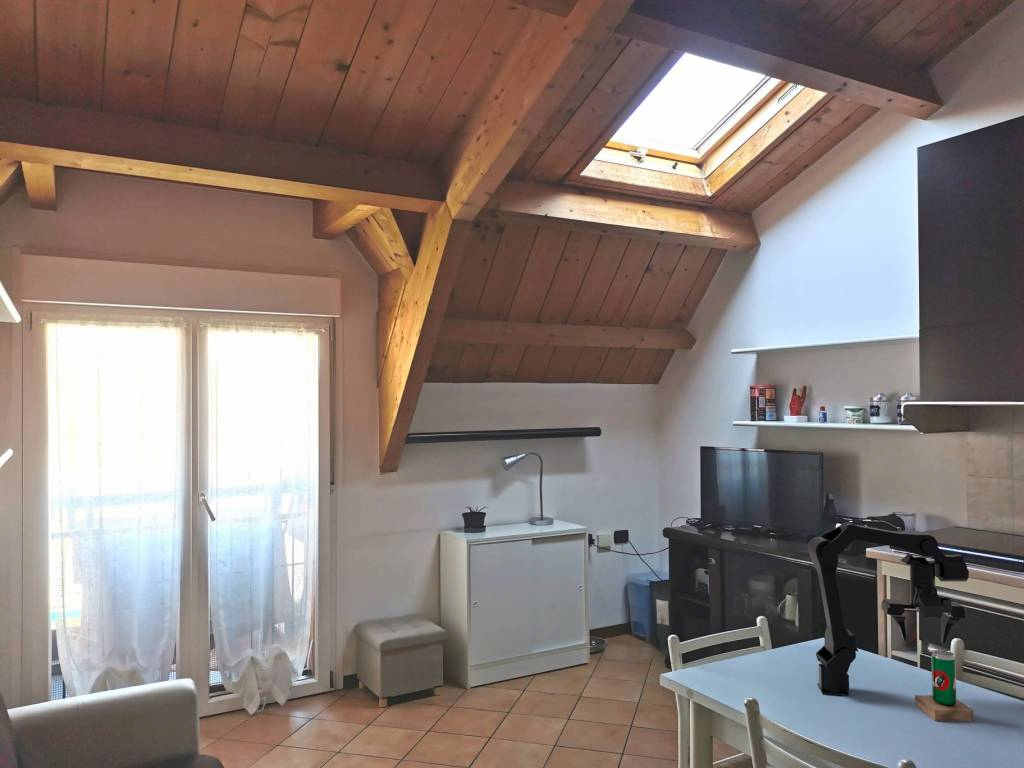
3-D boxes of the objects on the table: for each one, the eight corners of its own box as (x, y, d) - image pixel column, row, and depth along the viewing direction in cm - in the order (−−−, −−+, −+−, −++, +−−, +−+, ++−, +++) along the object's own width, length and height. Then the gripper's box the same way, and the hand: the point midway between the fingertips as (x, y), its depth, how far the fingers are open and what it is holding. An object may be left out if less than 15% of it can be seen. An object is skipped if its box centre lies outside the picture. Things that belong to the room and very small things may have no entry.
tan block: (935, 720, 176) (934, 710, 176) (915, 705, 185) (914, 695, 185) (973, 721, 175) (973, 710, 175) (951, 705, 184) (951, 695, 184)
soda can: (959, 707, 177) (958, 656, 177) (936, 706, 178) (935, 655, 178) (951, 699, 182) (950, 649, 182) (929, 697, 183) (928, 648, 183)
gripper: (893, 587, 187) (894, 649, 187) (975, 590, 184) (976, 654, 183) (880, 577, 198) (881, 636, 198) (957, 579, 195) (958, 640, 194)
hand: (923, 641), depth 193 cm, fingers open, 9 cm apart
